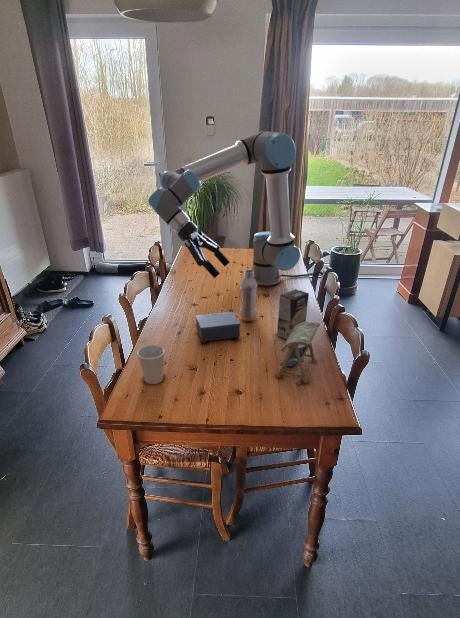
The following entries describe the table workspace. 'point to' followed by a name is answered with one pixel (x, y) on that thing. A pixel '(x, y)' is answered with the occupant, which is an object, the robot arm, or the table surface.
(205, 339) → the grey rectangular box
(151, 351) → the dixie cup
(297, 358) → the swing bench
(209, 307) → the table surface
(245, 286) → the plastic bottle
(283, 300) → the coffee box
